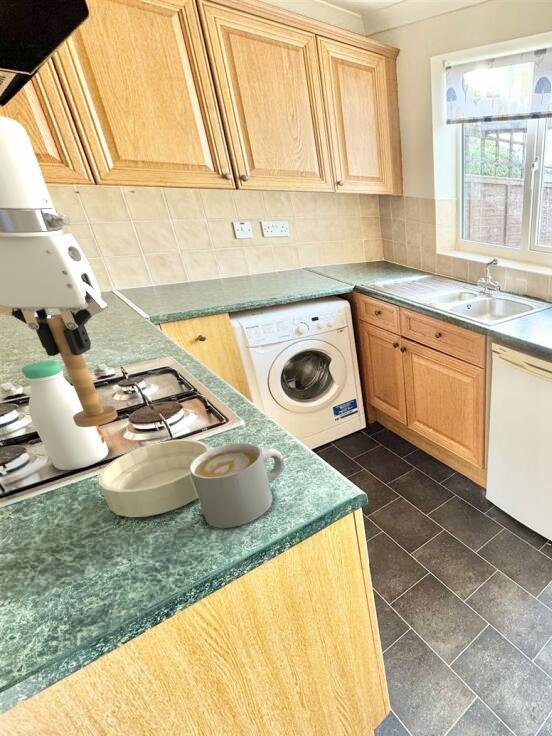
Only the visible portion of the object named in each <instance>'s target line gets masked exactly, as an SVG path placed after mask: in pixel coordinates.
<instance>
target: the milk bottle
mask: <svg viewBox="0 0 552 736" xmlns="http://www.w3.org/2000/svg"><path fill="white" fill-rule="evenodd" d="M21 371H22V374H23V376H24V377H25V380H26V381H28V382H29V384H30V395H29V401H28V405H27V406H28V413H29V417H30V419H31V421H32V424H33V426H34V428H35V430H36V432H37V434H38V436H39V439H40V441H41V442H42V445H43V447H44V448H45V451H46V453H47V455H48V456H49V458H50V461H51V463H52V464H53V466H54V467H55V468H56V469H58V470H61V471H72V470H73V471H74V470H79V469H82V468H87V467H89V466H92V465H94V464H96V463H99V462H100V461H102V460H103V459H105V458H106V457H107V456H108V454H109V448H108V445H107V443H106V441H105V438H104V435H103V433H102V431H101V428H100V427H99V426H100V425H98V426H93V427H79V426H77V425H76V424H75V422H74V419H73V416H74V415H75V414H77V413H78V412H80V411H83V408H82V406H81V404H80V401H79V399H78V396H77V394H76V391H75V389H74V386H73V385H71V384H70V383H69V381H67V380H66V379H65V377H64V375H63V374H64V371H63V368H62V366H61V364H60V363H59V362H58V361H55V360H46V361H45V360H44V361H38V362H34V363H30V364H27V365H25V366H23V367H22V368H21Z"/></svg>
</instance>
